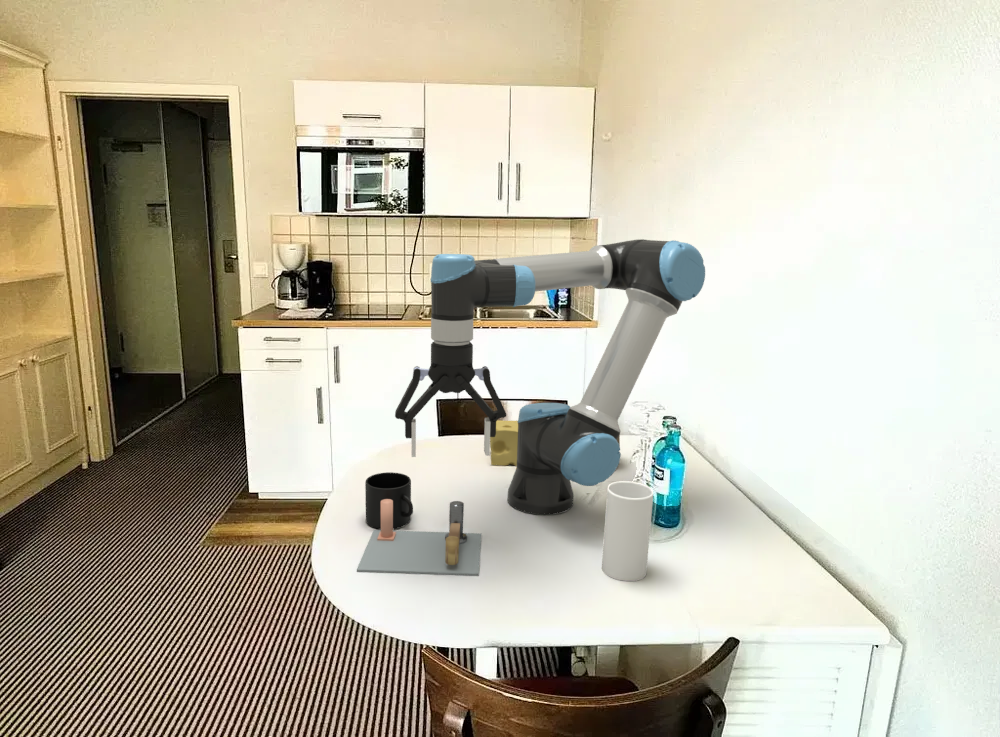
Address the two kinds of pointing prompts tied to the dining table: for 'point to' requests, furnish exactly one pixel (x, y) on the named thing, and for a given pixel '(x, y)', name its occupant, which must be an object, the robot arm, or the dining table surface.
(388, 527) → the post
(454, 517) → the pivot post
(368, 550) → the mat
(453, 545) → the gate
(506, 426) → the cheese
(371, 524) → the mug
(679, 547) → the dining table surface
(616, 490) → the cup
